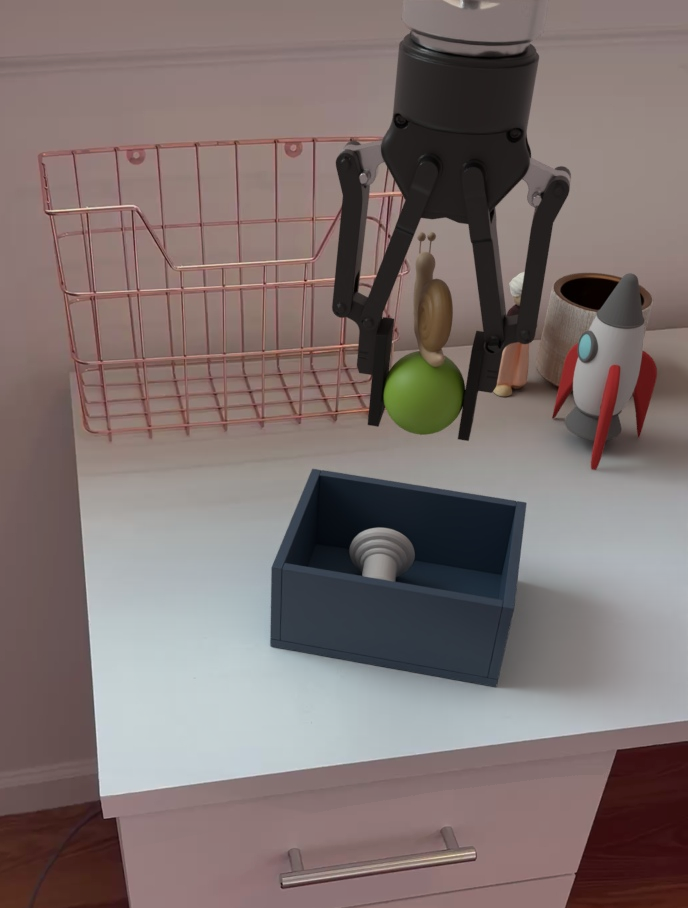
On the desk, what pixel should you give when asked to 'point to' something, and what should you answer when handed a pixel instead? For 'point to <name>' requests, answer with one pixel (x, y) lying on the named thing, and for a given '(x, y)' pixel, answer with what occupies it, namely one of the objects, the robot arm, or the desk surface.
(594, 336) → the toy
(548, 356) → the planter
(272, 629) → the tote
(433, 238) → the snail figurine
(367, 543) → the chess piece
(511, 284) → the grandmother figurine
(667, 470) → the desk surface
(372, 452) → the desk surface
